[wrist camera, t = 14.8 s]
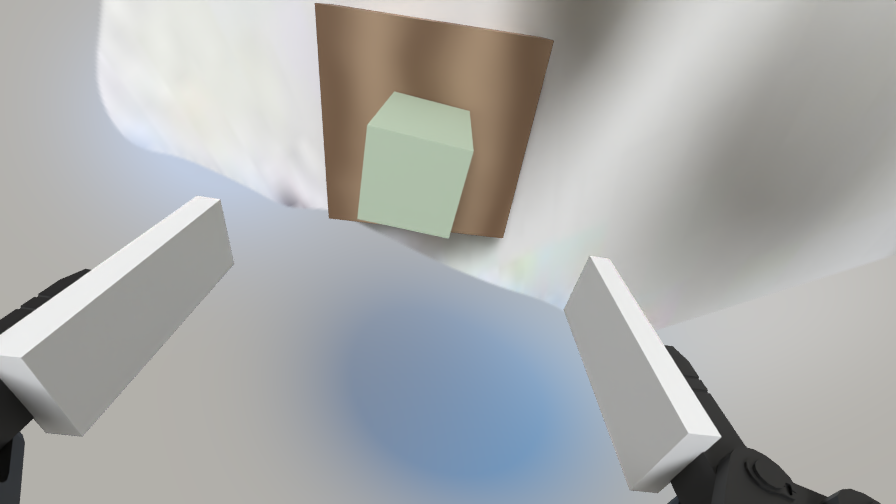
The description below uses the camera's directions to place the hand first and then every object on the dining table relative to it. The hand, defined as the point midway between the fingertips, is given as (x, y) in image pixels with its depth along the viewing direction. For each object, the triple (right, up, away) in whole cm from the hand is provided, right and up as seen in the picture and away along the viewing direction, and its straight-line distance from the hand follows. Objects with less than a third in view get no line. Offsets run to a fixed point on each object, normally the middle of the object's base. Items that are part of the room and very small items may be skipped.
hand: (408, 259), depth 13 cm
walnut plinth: (0, +10, +15) cm, 18 cm away
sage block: (0, +8, +11) cm, 14 cm away
